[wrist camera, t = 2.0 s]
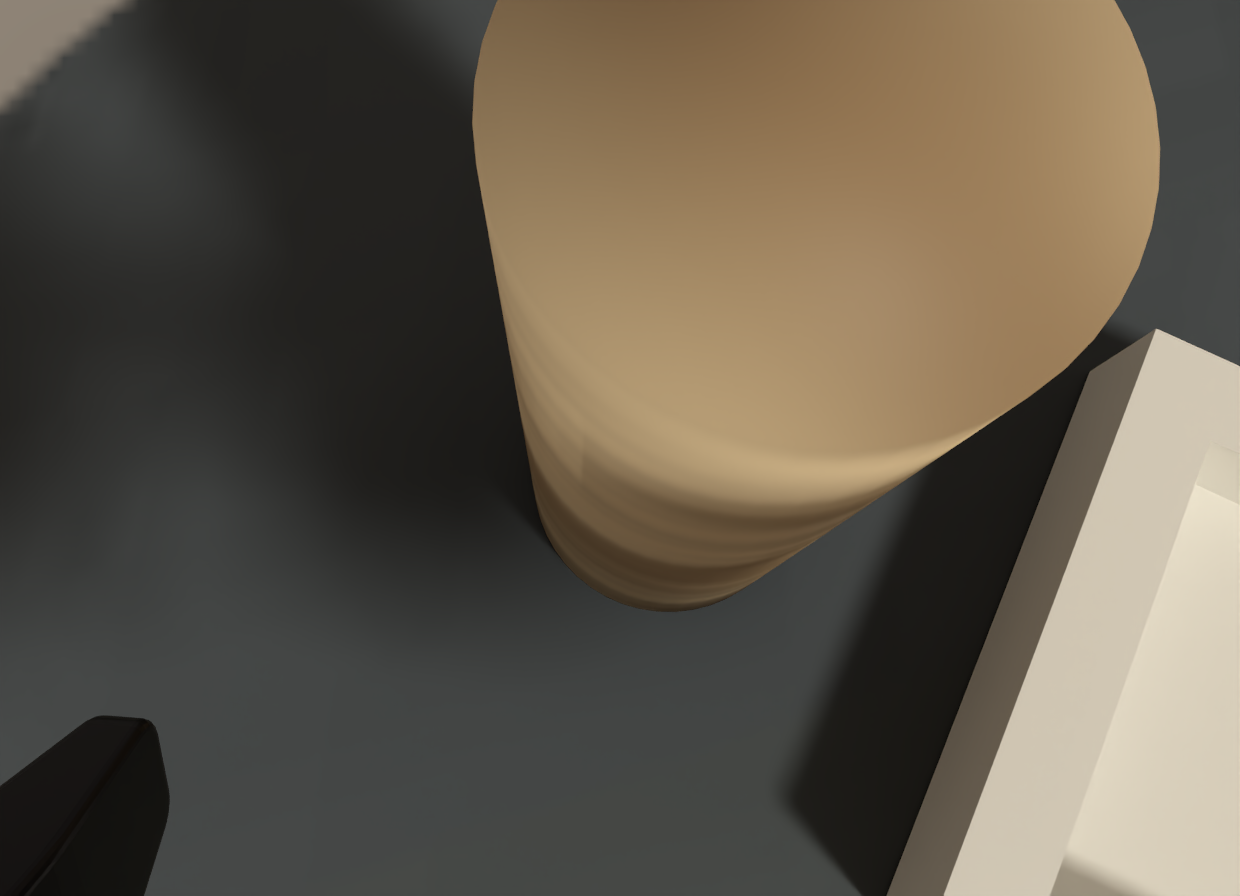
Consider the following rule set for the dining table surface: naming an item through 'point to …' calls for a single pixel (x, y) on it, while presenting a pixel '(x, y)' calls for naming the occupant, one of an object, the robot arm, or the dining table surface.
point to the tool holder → (1108, 661)
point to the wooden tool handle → (791, 254)
